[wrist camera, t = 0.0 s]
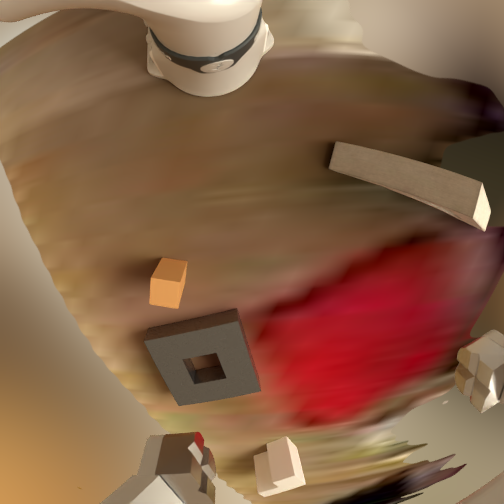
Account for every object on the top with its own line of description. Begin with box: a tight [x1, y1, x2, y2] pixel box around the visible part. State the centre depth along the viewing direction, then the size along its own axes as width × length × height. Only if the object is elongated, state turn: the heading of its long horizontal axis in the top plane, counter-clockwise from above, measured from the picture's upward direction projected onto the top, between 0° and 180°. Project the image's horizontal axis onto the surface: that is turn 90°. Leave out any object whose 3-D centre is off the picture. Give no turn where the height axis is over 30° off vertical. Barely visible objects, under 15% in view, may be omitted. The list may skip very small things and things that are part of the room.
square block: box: [150, 258, 187, 309], centre depth 43 cm, size 4×4×8 cm
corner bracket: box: [254, 436, 306, 497], centre depth 59 cm, size 11×11×12 cm
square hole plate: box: [144, 309, 261, 406], centre depth 50 cm, size 16×16×4 cm
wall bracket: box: [329, 141, 491, 231], centre depth 44 cm, size 22×4×30 cm
